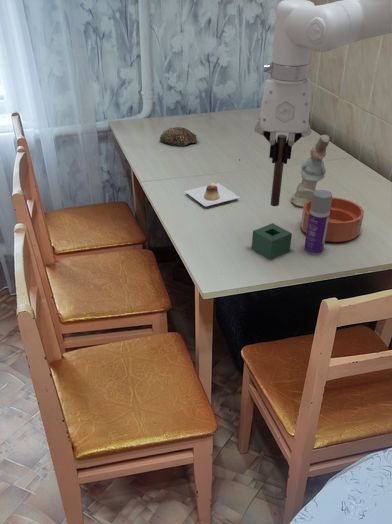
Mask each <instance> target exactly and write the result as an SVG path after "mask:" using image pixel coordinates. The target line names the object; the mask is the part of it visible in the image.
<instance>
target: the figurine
mask: <svg viewBox="0 0 392 524" xmlns="http://www.w3.org/2000/svg"><path fill="white" fill-rule="evenodd" d="M330 139H331V138H330V136H329V135H328V134H322V135H320V137H319V138H318V140H317V142H315V144H314V145H313V146H312V148H311V149H310V153H309V154H310V157H309V158H307V160H306V161H304V163H302V165H301V171H300V176H301V182H299V183H298V185H297V187H296V192H294V193H293V194H292V196H291V202H292V203H293V204H294V205H295V206H298V207H302V208H303V207H304V204H305V203H306V202H307V201H309V200H311V199H312V197H313V192H314V191H316V190H317V189H316V188H317V183H318V182H319V181H322V180H323V179H324V178H325V175H326V172H327V169H326V166H325V162H324V161H323V160H324V158H326V156H327V147H328V146H329V144H330Z"/></svg>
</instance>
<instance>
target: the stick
mask: <svg viewBox="0 0 392 524" xmlns="http://www.w3.org/2000/svg"><path fill="white" fill-rule="evenodd" d="M287 136H288V135H286V134H278V135H277V136H276V137H277V138H276V142H277V151H276V160H275V163H274V167H273V174H272V175H273V176H272V184H271V185H272V186H271V194H270V195H271V196H270V204H269V205H270V206H272V207H278V206H279V205H280V198H281V190H282V183H283V172H284V165H285V164H284V154H285V145H286V141H287V140H288V137H287Z"/></svg>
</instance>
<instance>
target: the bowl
mask: <svg viewBox="0 0 392 524" xmlns="http://www.w3.org/2000/svg"><path fill="white" fill-rule="evenodd" d="M311 203H312V199H311V200H309V201H307V202H306V203H305V204H304V207H303V206H302V213H301V220H300V228H301V230H302V232H304V233H305V235H306V234H307V227H308V221H309V214H310V208H311ZM364 215H365V211H364V209H363V207H362V206H361V205H359V204H358V203H357V202H354V201H352V200H350V199H345V198H342V197H336V196H335V197H334V196H332V201H331V208H330V215H329V220H328V226H327V231H326V237H325V242H330V243H332V242H333V243H336V242H341V243H342V242H346V241H351V240H353V239H355V238H357V237H358V236H359V235H360V234H361V229H362V225H363V219H364Z"/></svg>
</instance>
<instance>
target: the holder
mask: <svg viewBox="0 0 392 524" xmlns="http://www.w3.org/2000/svg"><path fill="white" fill-rule="evenodd" d="M292 236H293V233H292V232H290V231H289V230H287V229H285V228H283V227H281V226H278V225H277V224H275V223H274V222H272V223H269V224H267V225H264V226H261V227H259V228H257V229H255V230H252V237H251V250H253V251H254V252H256V253H258V254H260V255H261V256H262V257H264V258H266V259H268V260H273V259H275V258H277V257H280V256H282V255H284V254H286V253H289V252H291V244H292Z"/></svg>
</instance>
